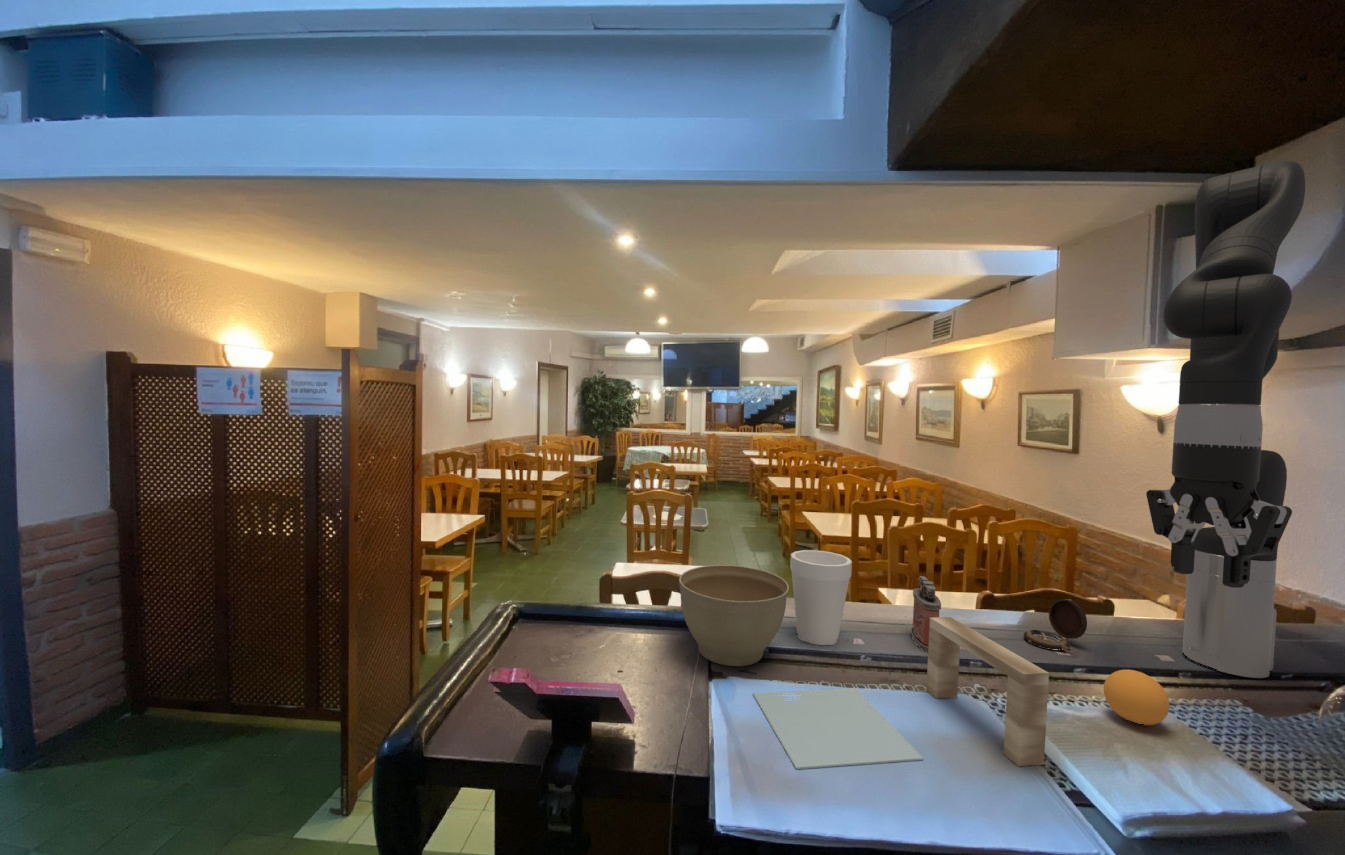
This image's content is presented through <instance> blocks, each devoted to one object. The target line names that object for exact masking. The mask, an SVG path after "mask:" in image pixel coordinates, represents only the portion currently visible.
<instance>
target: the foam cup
mask: <svg viewBox="0 0 1345 855" xmlns="http://www.w3.org/2000/svg"><path fill="white" fill-rule="evenodd" d="M852 564H853V561H852V559H850V558H849V557H847V556H845V555H843V554H840V553H835V552H831V551H826V550H817V549H816V550H815V549H814V550H812V549H811V550H810V549H803V550H798V551H797V550H795V551H794V552H791V553H790V565H789V568H790V571H791V578H792V579H791V580H792V590H793V591H792V593H793V602H794V614H795V615H794V616H795V627H796V634H797V633H798V635H797V638H798V637H800V638H801V639H803V640H804V641H808V642H810V643H814V644H819V645H821V644H822V645H823V644H825V645H826V644H833V643H835V642H836V641H837V639H838V640H839V637H840V631H841V626H842V620H843V616H844V609H845V603H846V599H847V592H848V587H849V582H850V578H851V577H852V567H853V566H852ZM801 639H800V640H801ZM804 641H803V642H804ZM837 642H838V641H837ZM837 642H836V643H837Z"/></svg>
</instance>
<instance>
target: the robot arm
mask: <svg viewBox="0 0 1345 855" xmlns="http://www.w3.org/2000/svg"><path fill="white" fill-rule="evenodd" d="M1305 194H1306V176H1305V172H1304V169H1303V167H1302V165H1301V164H1300V163H1298V162H1296V161H1293V160H1281V161H1276V162H1271V163H1266V164H1263V165H1257V166H1254V167H1249V168H1245V169H1241V170H1237V171H1233V172H1228V173H1224V174H1221V175H1217V176H1213V177H1210V178H1207V179H1205V180H1204V181H1203V183H1201V184H1200V186H1199V188H1198V190H1197V193H1196V195H1195V196H1196V197H1195V206H1194V238H1195V241H1194V242H1195V245H1194V246H1195V247H1194V248H1195V270H1193V271H1192V272H1191V273H1190V274H1189V275H1188V276H1186V277H1185V278H1184V279H1183V280H1182V281H1180V283H1179V284H1177V286H1175V288H1174V289H1173V290H1172V292H1171V293H1170V295H1169V297H1168V298H1167V300H1166V303H1165V304H1164V308H1163V316H1162V317H1163V323H1164V325H1165V327H1166V330H1168V331H1169V332H1170V333H1171V334H1173V335H1174V336H1176V337H1178V338H1181V339H1189V340H1190V345H1189V346H1190V348H1189V350H1190V351H1189V360H1187V361H1185V362H1184V363H1183V364H1182V366H1181V369H1180V373H1179V374H1180V375H1179V390H1178V391H1179V393H1178V404H1177V405H1178V406H1177V411H1176V416H1175V420H1174V426H1173V443H1172V444H1173V445H1172V457H1171V458H1172V461H1171V475H1172V476H1173V478H1174V481H1173V483H1172V485H1171V486H1170V488H1167V489H1149V490H1147V491H1146V493H1145V494H1146V495H1145V496H1146V500H1147V505H1148V509H1149V512H1150V513H1149V514H1150V519H1151V523H1152V528H1153V531H1154V533H1155V534H1156V535H1158V536H1163V537H1165V538H1167V539H1168V541H1169V542H1170V544H1171V545H1170V546H1171V547H1170V549H1171V550H1170V565H1171V567H1172V568H1173V571H1174V573H1175V574H1176V573H1177V574H1181V575H1186V583H1185V584H1186V586H1185V601H1184V616H1183V617H1184V618H1183V619H1184V620H1183V621H1184V622H1183V636H1182V651H1183V652H1184V653H1185V654H1186V655H1188V656H1189V657H1190V658H1192V659H1193V660H1196V661H1197V662H1199V663H1201V664H1203V665H1206V666H1209V667H1212V668H1214V669H1217V670H1216V671H1217V672H1218V671H1219V672H1221V673H1225V674H1229V675H1235V676H1239V677H1245V678H1253V679H1265V678H1269V677H1270V672H1269V671H1270V669H1273V670H1274V658H1275V644H1276V630H1277V614H1278V612H1277V609H1276V608H1275V594H1276V593H1275V591H1276V576H1277V562H1278V561H1277V559H1278V548H1279V543H1280V542H1281V539H1282V536H1283V534H1284V532H1285V530H1286V527H1287V526H1288V523H1289V521H1290V519H1291V517H1292V514H1293V510H1292V508H1290V507H1289V506H1286V505H1284V501H1285V498H1286V497H1285V496H1286V489H1287V480H1288V474H1287V473H1288V469H1287V464H1286V462H1285V459H1284V458H1283V457H1282V455H1281V454H1279V453H1278V452H1277V451H1273V450H1268V449H1267V450H1266V449H1262V446H1263V445H1262V444H1263V442H1262V440H1263V426H1264V423H1263V418H1262V417H1263V416H1262V409H1261V408H1262V407H1261V404H1262V394H1263V393H1262V391H1263V380H1264V378H1265V377H1266V376H1267V374H1269V373H1270V371H1271V370H1272V369H1273V367H1274V366H1275V364H1276V362H1277V361H1278V360H1277V359H1278V352H1279V339H1280V338H1279V337H1280V328H1281V326H1282V324H1283V322H1284V320H1285V319H1286V316H1287V314H1288V312H1289V309H1290V307H1291V304H1292V298H1293V297H1292V296H1293V295H1292V294H1293V293H1292V289H1291V287H1290V285H1289V283H1288V282H1287V281H1286V280H1285V279H1284V278H1283V277H1281V276H1279V275H1276V274H1274V272H1275V271H1274V270H1275V267H1276V266H1275V265H1276V262H1277V256H1278V252H1279V249H1280V246H1281V244H1283V241H1284V240H1285V239H1286V237H1287V236H1288V234H1289V233H1290V232H1291V230H1292V228H1293V226H1294V225H1295V223H1296V222H1297V220H1298V218H1299V216H1300V214H1301V211H1302V208H1303V205H1304V200H1305ZM1175 503H1176V505H1177V506H1178V508H1177V510H1176V512H1175V507H1174V504H1175ZM1206 524H1208V525H1211V526H1208V527H1205V525H1206ZM1182 651H1181V652H1182ZM1203 665H1202V666H1203ZM1214 669H1213V670H1214Z"/></svg>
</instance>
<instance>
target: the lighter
mask: <svg viewBox="0 0 1345 855" xmlns="http://www.w3.org/2000/svg"><path fill="white" fill-rule="evenodd" d="M917 583H918V585H919V586H920V588H917V587H916V588H912V595H913V611H912V613H913V615H912V627H911V630H910V635H911V634H912V637H913V639H914V641H915V642H916V644H918V646H920V648H922V649H923V650H924V651H923V652H925V651H928V647H929V627H930V618H936V617H940V610H942V602H941V600H940V598H939V597H938V595H936V587H935V582H934V581H931V580H929V579H928V578H927V577H926V576H924V575H919V576H918V579H917ZM912 637H911V638H912ZM913 639H912V640H913ZM914 641H913V642H914ZM916 644H915V645H916ZM918 646H917V647H918ZM920 648H919V649H920Z"/></svg>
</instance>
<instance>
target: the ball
mask: <svg viewBox="0 0 1345 855" xmlns="http://www.w3.org/2000/svg"><path fill="white" fill-rule="evenodd" d="M1103 696H1104V698H1105V701H1106V702H1107V704H1108V705H1109V707H1110V708H1111V709H1112V710H1113V712H1115V714H1116V715H1118V716H1119V717H1121V718H1122V717H1123V718H1122V719H1124V718H1125V719H1124V720H1126V719H1128V720H1130V721H1133V722H1136V723H1140V724H1144V725H1143V726H1153V725H1157V724H1159V723H1161V722H1162V721H1164V720H1165V719H1166V717H1167V716H1168V714H1169V712H1170V707H1171V706H1170V700H1169V699H1170V698H1169V697H1168V694H1167V692H1166V690H1165V688H1163V686H1162V685H1161V684H1160V683H1159V682H1158V681H1157V680H1156V679H1154V677H1152V676H1150V675H1148V674H1145V673H1144V672H1142V671H1137V670H1135V669H1134V670H1133V669H1119V670H1115V671H1114V672H1112V673H1110V675H1108V676H1107V678H1106V679H1105V681H1104V683H1103ZM1130 721H1129V722H1130Z"/></svg>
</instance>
